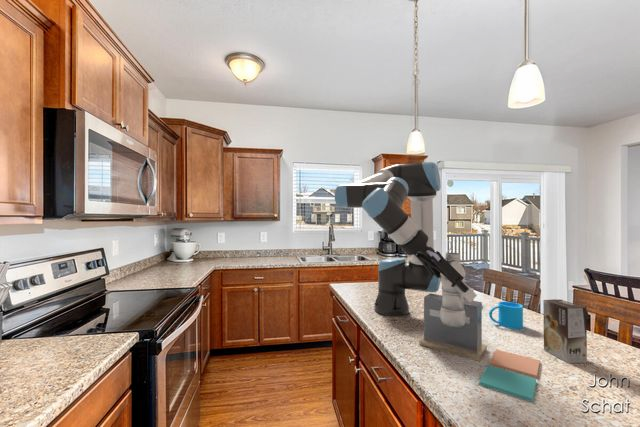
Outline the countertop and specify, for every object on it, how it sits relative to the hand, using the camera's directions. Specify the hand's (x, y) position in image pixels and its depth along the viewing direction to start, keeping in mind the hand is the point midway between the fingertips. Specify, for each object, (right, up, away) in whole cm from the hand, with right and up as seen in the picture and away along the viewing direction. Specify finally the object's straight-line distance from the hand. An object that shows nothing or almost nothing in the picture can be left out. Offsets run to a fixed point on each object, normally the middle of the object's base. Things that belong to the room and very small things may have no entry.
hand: (465, 295), depth 83 cm
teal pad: (+7, -20, -7) cm, 23 cm away
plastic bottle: (-4, -9, 0) cm, 9 cm away
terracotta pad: (+16, -21, +3) cm, 26 cm away
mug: (+32, -21, +35) cm, 52 cm away
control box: (+3, -21, +14) cm, 25 cm away
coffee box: (+34, -21, +8) cm, 41 cm away
